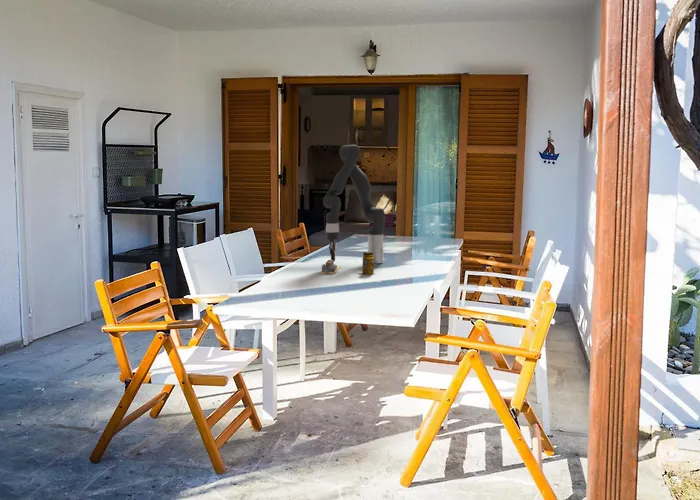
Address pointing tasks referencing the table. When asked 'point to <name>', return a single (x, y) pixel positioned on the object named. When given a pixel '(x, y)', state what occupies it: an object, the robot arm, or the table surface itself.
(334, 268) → the guide board
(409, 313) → the table surface
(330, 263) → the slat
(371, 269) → the condiment
